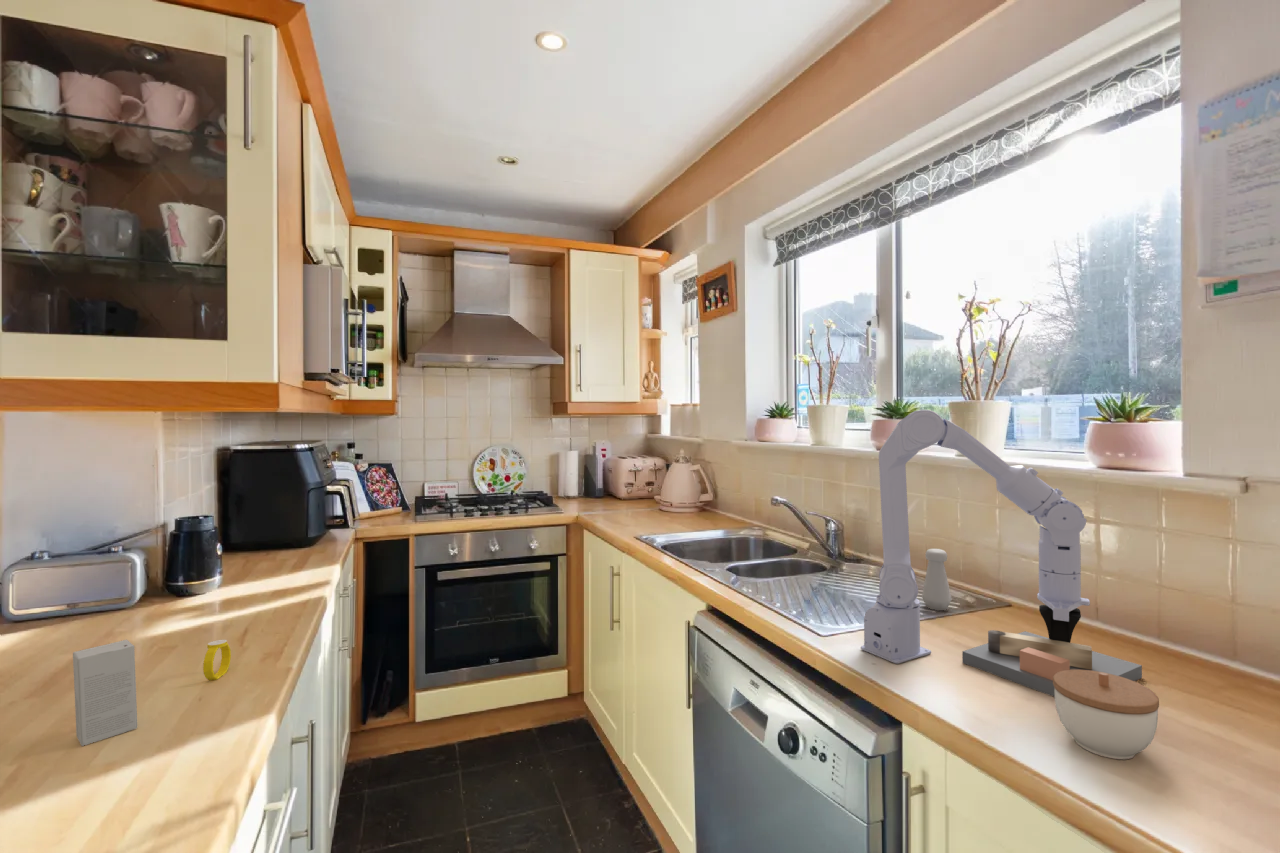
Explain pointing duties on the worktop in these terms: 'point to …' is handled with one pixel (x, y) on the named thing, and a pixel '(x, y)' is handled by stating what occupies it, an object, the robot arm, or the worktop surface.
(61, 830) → the worktop surface
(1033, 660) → the stool seat
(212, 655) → the watch
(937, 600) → the salt shaker
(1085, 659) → the stool leg
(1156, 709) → the lidded jar
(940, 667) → the worktop surface
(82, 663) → the skincare box
